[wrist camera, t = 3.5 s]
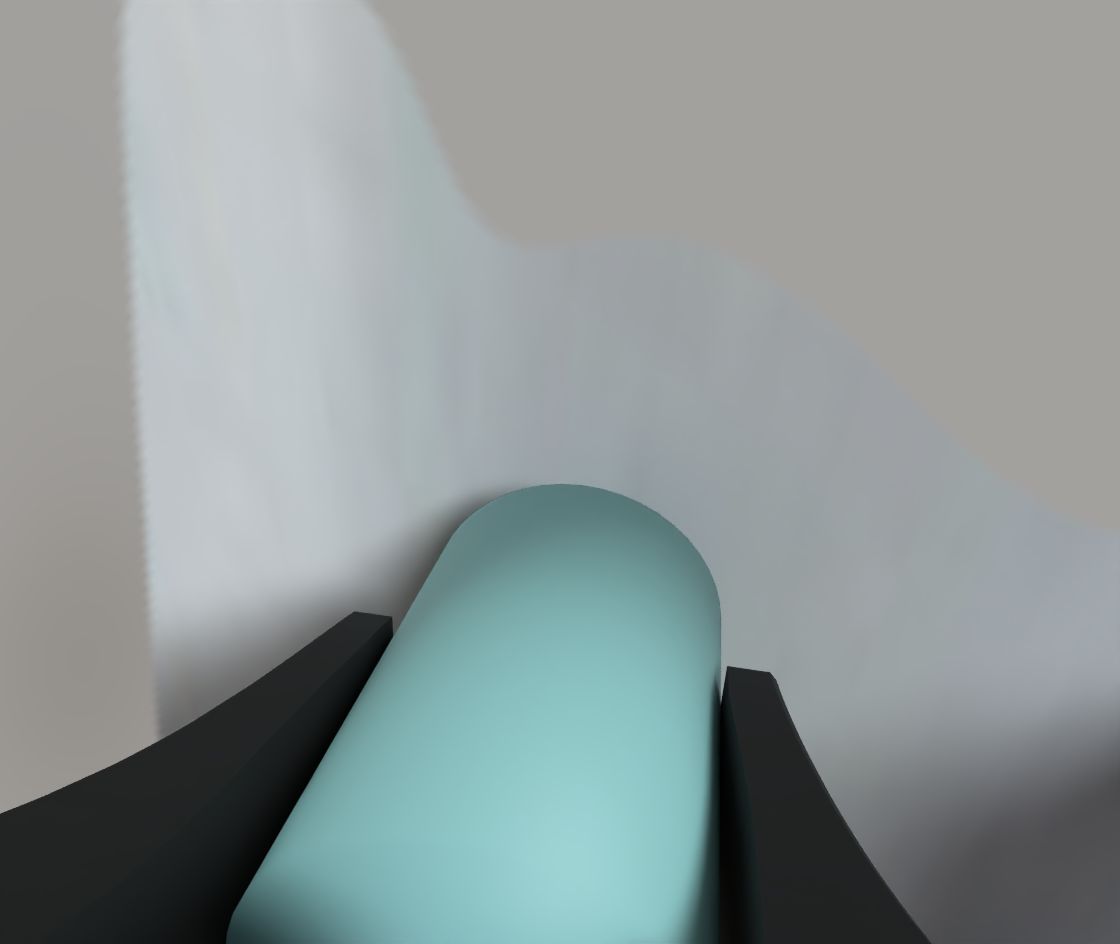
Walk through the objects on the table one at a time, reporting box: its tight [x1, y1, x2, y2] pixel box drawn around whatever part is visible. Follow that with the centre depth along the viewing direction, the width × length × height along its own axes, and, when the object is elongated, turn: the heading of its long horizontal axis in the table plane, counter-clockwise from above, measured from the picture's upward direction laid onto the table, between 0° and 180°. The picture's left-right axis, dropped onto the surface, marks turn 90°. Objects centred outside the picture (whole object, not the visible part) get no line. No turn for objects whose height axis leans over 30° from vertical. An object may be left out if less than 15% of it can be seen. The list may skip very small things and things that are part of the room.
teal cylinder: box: [226, 484, 721, 944], centre depth 11 cm, size 5×5×7 cm
